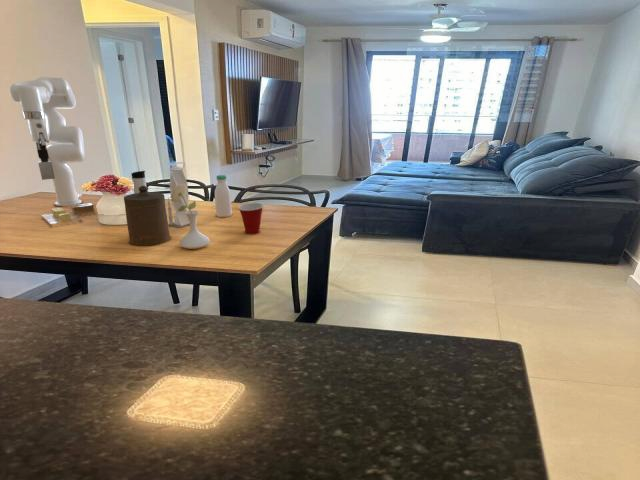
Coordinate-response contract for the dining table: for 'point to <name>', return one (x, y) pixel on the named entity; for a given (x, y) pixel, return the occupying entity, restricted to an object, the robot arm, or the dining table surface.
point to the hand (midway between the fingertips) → (44, 158)
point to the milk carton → (180, 216)
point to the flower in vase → (194, 236)
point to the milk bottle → (222, 197)
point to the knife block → (82, 208)
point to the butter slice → (64, 217)
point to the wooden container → (146, 217)
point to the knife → (46, 169)
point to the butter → (57, 211)
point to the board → (53, 219)
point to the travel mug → (138, 180)
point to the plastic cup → (251, 216)
